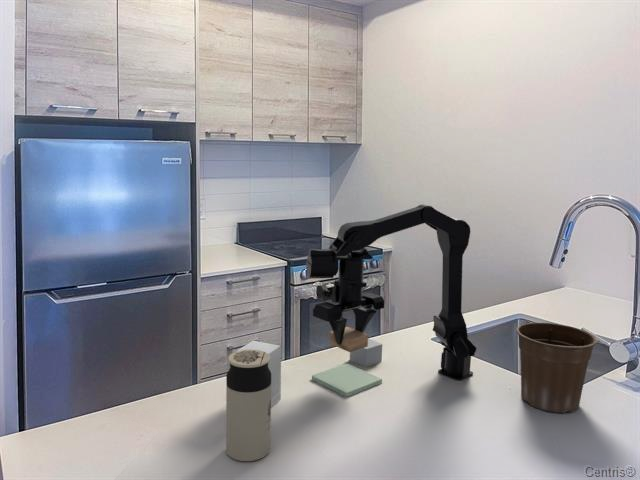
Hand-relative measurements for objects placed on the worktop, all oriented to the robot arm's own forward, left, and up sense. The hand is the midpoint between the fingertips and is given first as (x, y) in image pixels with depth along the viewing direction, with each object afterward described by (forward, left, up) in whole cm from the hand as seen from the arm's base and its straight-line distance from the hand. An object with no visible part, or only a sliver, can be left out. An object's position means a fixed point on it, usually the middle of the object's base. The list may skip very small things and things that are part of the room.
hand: (348, 341), depth 123 cm
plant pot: (-36, -29, -10) cm, 47 cm away
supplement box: (+4, +23, -10) cm, 26 cm away
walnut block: (0, 0, -1) cm, 1 cm away
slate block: (+6, -13, -10) cm, 18 cm away
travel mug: (-10, +35, -10) cm, 38 cm away
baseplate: (0, 0, -10) cm, 10 cm away
